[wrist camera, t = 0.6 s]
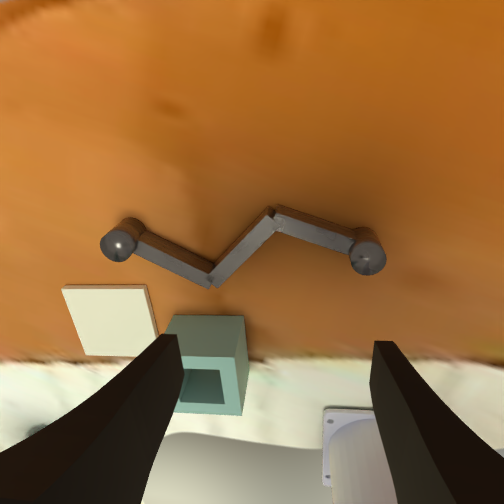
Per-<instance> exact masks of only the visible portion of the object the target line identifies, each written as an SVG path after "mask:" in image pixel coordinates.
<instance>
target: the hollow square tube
mask: <svg viewBox="0 0 504 504" xmlns="http://www.w3.org/2000/svg"><path fill="white" fill-rule="evenodd" d="M164 334H177V338H178V343H179V348H180V353H181V358H182V363H183V368H184V373H185V375H184V379H183V383H182V388H181V391H180V395H179V399H178V402H177V404H176V407H175V409H174V412H177V413H196V414H216V415H236V416H242V412H243V406H244V400H245V394H246V387H247V381H248V375H249V361H248V352H247V342H246V333H245V324H244V316H219V315H174V316H173V318H172V320H171V322H170V323H169V325H168V327H167V329H166V331H165V333H164Z"/></svg>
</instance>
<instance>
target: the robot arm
mask: <svg viewBox="0 0 504 504" xmlns="http://www.w3.org/2000/svg"><path fill="white" fill-rule="evenodd" d="M184 375H185V373H184V368H183V363H182V358H181V353H180V348H179V343H178V338H177V334H161V335H160V336H158V337H157V338H156V339H155V340H154V341H153V342H152V343H151V344H150V345H149V346H148V347H147V348H146V349H145V350H144V351H143V352H141V353H140V354H139V355H138V356H137V357H136V358H135V359H134V360H133V361H132V362H131V363H130V364H129V365H127V366H126V367H125V368H124V369H123V370H122V371H121V372H120V373H119V374H117V375H116V376H115V377H114V378H113V379H111V380H110V381H109V382H108V383H107V384H106V385H104V386H103V387H102V388H101V389H100V390H98V391H97V392H96V393H95V394H93V395H92V396H91V397H89V398H88V399H87V400H85V401H84V402H83V403H81V404H80V405H78V406H77V407H76V408H74V409H73V410H71V411H70V412H68V413H67V414H65V415H64V416H62V417H61V418H59V419H58V420H56V421H54V422H53V423H51V424H50V425H48V426H47V427H45V428H43V429H42V430H40V431H39V432H37V433H35V434H33V435H32V436H30V437H28V438H26V439H25V440H23V441H21V442H19V443H17V444H16V445H14V446H12V447H10V448H8V449H6V450H4V451H2V452H0V504H141V501H142V497H143V494H144V491H145V487H146V484H147V481H148V477H149V473H150V471H151V468H152V465H153V462H154V460H155V457H156V454H157V452H158V449H159V447H160V444H161V442H162V439H163V437H164V435H165V432H166V430H167V427H168V425H169V422H170V420H171V417H172V415H173V412H174V409H175V407H176V404H177V402H178V399H179V395H180V391H181V388H182V383H183V379H184ZM369 384H370V391H371V398H372V404H373V410H374V411H373V410H352V409H326V410H325V411H324V413H323V461H322V483H323V485H325V486H327V487H332V499H333V504H504V458H503V457H502V456H501V455H500V454H498V453H497V452H496V451H495V450H494V449H492V448H491V447H490V446H489V445H488V444H486V443H485V442H484V441H483V440H482V439H481V438H480V437H479V436H478V435H476V434H475V433H474V432H473V431H472V430H471V429H470V428H469V427H468V426H467V425H466V424H465V423H464V422H463V421H462V420H461V419H460V418H459V417H458V416H457V415H456V414H455V413H454V412H453V411H452V410H451V409H450V408H449V407H448V406H447V405H446V404H445V403H444V402H443V401H442V400H441V399H440V398H439V397H438V395H437V394H436V393H435V392H434V391H433V390H432V389H431V387H430V386H429V385H428V384H427V383H426V382H425V381H424V379H423V378H422V377H421V376H420V375H419V373H418V372H417V371H416V370H415V369H414V367H413V366H412V365H411V364H410V362H409V361H408V360H407V358H406V357H405V356H404V355H403V353H402V352H401V351H400V349H399V348H398V347H397V345H396V344H395V343H394V342H393V341H374V349H373V357H372V366H371V374H370V382H369Z"/></svg>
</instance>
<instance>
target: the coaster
mask: <svg viewBox="0 0 504 504" xmlns="http://www.w3.org/2000/svg"><path fill="white" fill-rule="evenodd" d="M61 290H62V293H63V295H64V298H65V301H66V303H67V306H68V309H69V311H70V314H71V316H72V319H73V322H74V324H75V327H76V330H77V332H78V335H79V338H80V340H81V343H82V346H83V348H84V351H85V354H86V355H101V356H138V355H139V354H140V353H141V352H143V351H144V350H145V349H146V348H147V347H148V346H149V345H150V344H151V343H152V342H153V341H154V340H155V339H156V338H157V337H158V336H159V335H158V331H157V327H156V323H155V319H154V315H153V310H152V306H151V302H150V298H149V294H148V290H147V286H146V285H65V286H64V287H63V288H62V289H61Z"/></svg>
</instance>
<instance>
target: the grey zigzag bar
mask: <svg viewBox="0 0 504 504" xmlns="http://www.w3.org/2000/svg"><path fill="white" fill-rule="evenodd" d="M275 231H279V232H281V233H284V234H287V235H290V236H293V237H296V238H299V239H302V240H305V241H308V242H311V243H314V244H317V245H320V246H323V247H326V248H329V249H332V250H335V251H338V252H341V253H344V254H347V255H349V258H350V261H351V265H352V267H353V269H354V270H355V271H356V272H357V273H359V274H362V275H373V274H376V273H378V272H379V271H381V270H382V269H383V268H384V266H385V264H386V254H385V252H384V250H383V248H382V246H381V244H380V242H379V240H378V237H377V235H376V233H375V232H374V231H373V230H371V229H370V228H367V227H359V228H356V229H354V230H352V229H349V228H346V227H343V226H340V225H338V224H335V223H332V222H329V221H326V220H323V219H320V218H317V217H314V216H311V215H308V214H305V213H302V212H299V211H296V210H293V209H291V208H288V207H285V206H282V205H279V204H277V207H276V210H275V211H274V210H273V209H272V208H270V207H269V206H268V207H267V208H266V209H265V210H264V211H263V212H262V213H261V215H260V216H259V217H258V218H257V219H256V220H255V221H254V222H253V223H252V224H251V225H250V226H249V227H248V228H247V229H246V230H245V231H244V232H243V233H242V234H241V235H240V236H239V237H238V239H237V240H236V241H235V242H234V243H233V244H232V245H231V246H230V247H229V248H228V249H227V250H226V251H225V252H224V253H223V254H222V255H221V256H220V257H219V258H218V259H217V260H216V261H215V263H212V262H210V261H208V260H206V259H204V258H202V257H200V256H198V255H196V254H194V253H192V252H190V251H188V250H186V249H183V248H181V247H179V246H177V245H175V244H173V243H171V242H169V241H167V240H165V239H163V238H161V237H159V236H157V235H155V234H153V233H151V232H149V231H147V230H146V228H145V226H144V225H143V224H142V223H141V222H140V221H139V220H137V219H134V218H126V219H124V220H122V221H121V222H120V223H119V224H118V225H116V226H115V227H114V228H113V229H112V230H111V231H109V232H108V233H107V234H106V235H105V236H104V237H103V238H102V239H101V241H100V248H101V251H102V252H103V254H104V255H105V256H106V257H107V258H108V259H110V260H112V261H115V262H123V261H125V260H127V259H128V258H129V257H130V256H131V254H132V253H134V254H136V255H138V256H140V257H142V258H144V259H146V260H148V261H151V262H153V263H155V264H157V265H159V266H161V267H163V268H165V269H167V270H169V271H171V272H173V273H175V274H178V275H180V276H182V277H184V278H186V279H188V280H190V281H192V282H194V283H196V284H198V285H200V286H202V287H205V288H207V289H209V288H210V286H211V284H212V285H214V286H215V287H216V288H218V287H219V286H220V285H221V284H222V283H223V282H224V281H225V280H227V279H228V278H229V277H230V276H231V275H232V274H233V273H234V272H235V271H236V270H237V269H238V268H239V267H240V266H241V265H242V264H243V263H244V262H245V261H246V260H247V259H248V258H249V257H250V256H251V255H252V254H253V253H254V252H255V251H256V250H257V249H258V248H259V247H260V246H261V245H262V244H263V243H264V242H265V241H266V240H267V239H268V238H269V237H270V236H271V235H272V234H273V233H274V232H275Z"/></svg>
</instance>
